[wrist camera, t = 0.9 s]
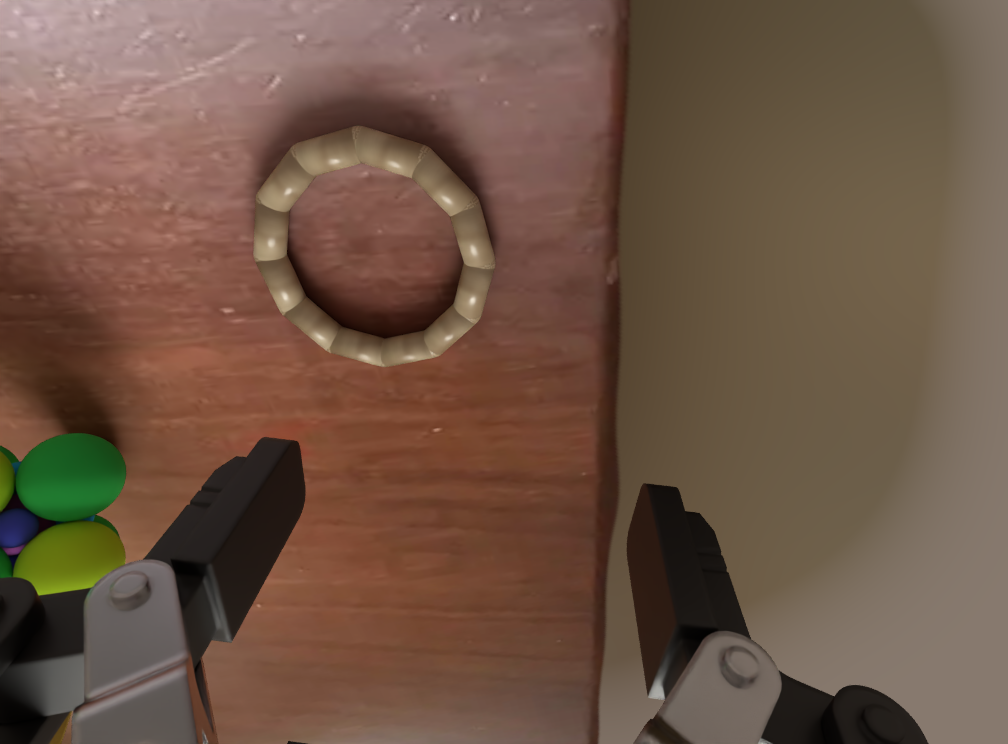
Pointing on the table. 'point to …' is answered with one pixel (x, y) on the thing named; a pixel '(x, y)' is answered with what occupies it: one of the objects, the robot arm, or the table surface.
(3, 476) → the molecule model
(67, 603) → the robot arm
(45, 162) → the table surface
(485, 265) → the ring
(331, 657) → the table surface
